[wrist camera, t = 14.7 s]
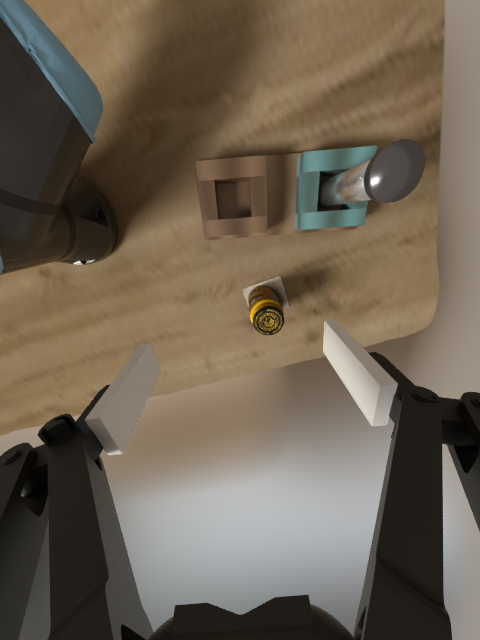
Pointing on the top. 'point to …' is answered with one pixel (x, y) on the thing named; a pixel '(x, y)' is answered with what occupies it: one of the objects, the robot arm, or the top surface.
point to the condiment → (267, 305)
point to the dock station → (276, 193)
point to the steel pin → (377, 177)
